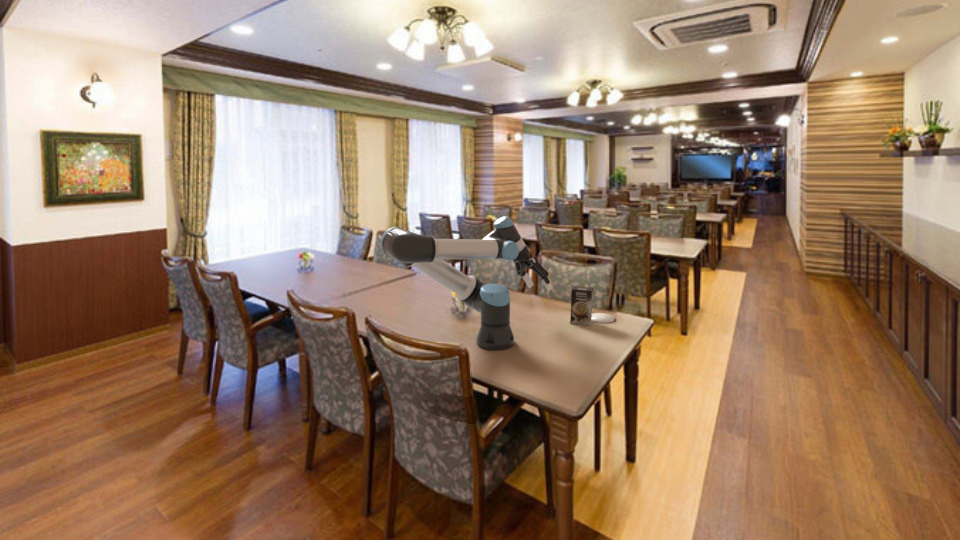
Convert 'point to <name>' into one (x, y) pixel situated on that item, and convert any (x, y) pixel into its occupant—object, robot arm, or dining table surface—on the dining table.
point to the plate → (602, 318)
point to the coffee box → (581, 305)
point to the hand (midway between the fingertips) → (540, 287)
